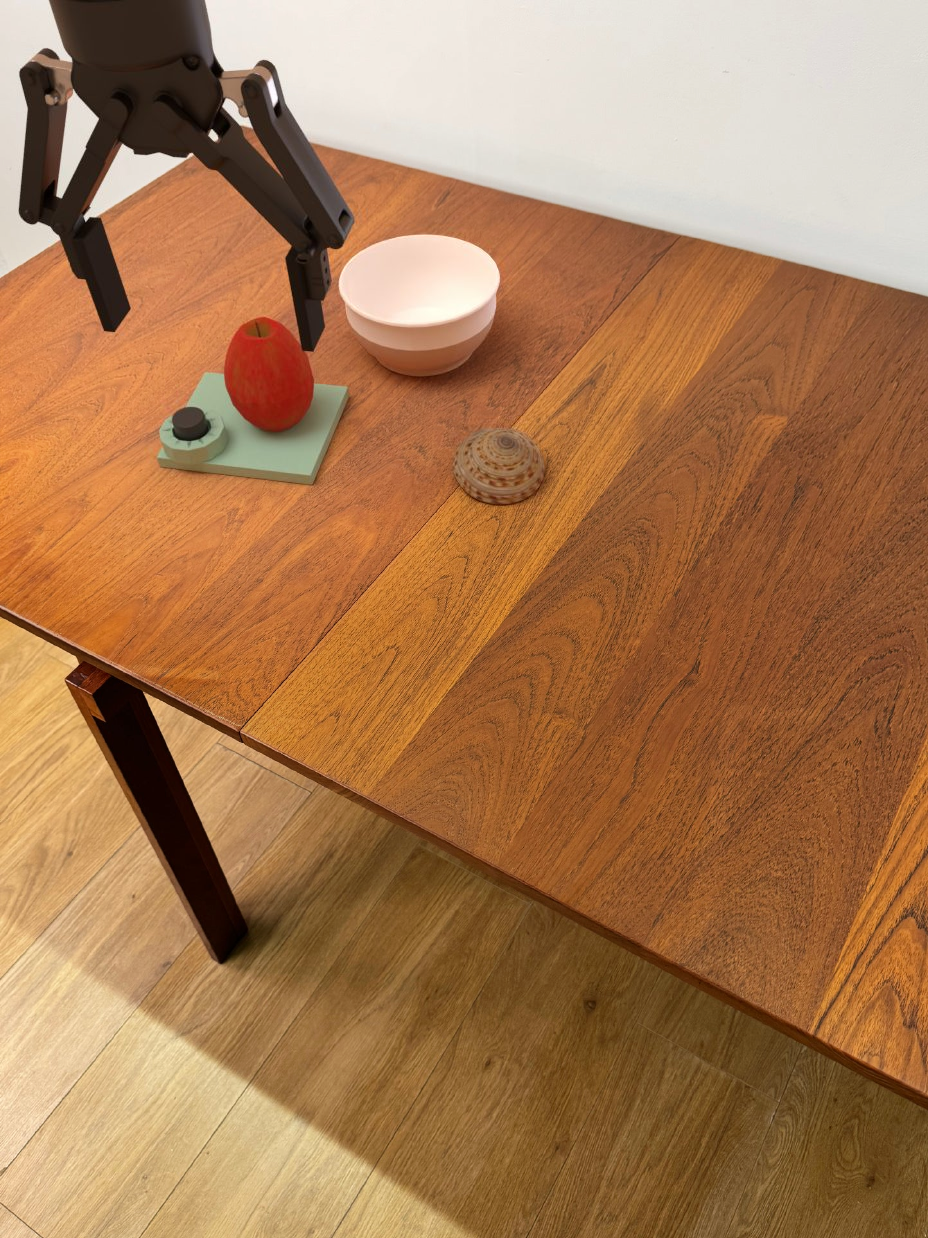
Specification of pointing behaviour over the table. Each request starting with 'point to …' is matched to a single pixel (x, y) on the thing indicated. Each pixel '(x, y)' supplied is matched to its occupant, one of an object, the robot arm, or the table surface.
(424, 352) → the bowl
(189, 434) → the button
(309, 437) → the scale
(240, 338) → the apple
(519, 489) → the seashell
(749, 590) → the table surface
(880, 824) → the table surface
